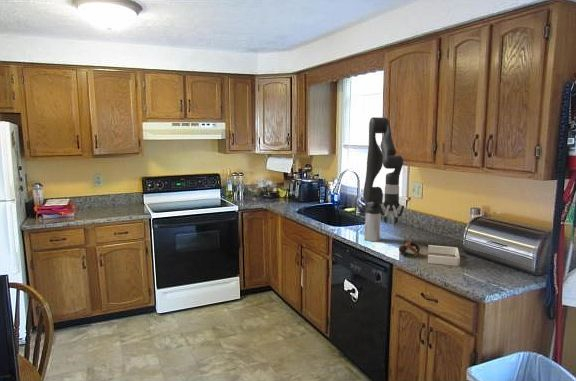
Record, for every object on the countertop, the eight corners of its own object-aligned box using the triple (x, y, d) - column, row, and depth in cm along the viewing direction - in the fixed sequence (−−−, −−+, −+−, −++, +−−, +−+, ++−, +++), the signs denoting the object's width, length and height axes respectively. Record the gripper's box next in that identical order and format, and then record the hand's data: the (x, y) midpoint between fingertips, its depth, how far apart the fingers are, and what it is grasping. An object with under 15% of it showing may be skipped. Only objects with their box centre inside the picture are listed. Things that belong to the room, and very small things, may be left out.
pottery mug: (407, 251, 226) (415, 240, 223) (416, 263, 219) (425, 252, 216) (392, 249, 220) (399, 238, 217) (401, 261, 213) (409, 250, 210)
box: (427, 262, 206) (428, 255, 205) (428, 252, 224) (428, 245, 224) (459, 266, 201) (459, 258, 200) (457, 254, 219) (457, 247, 219)
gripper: (406, 192, 218) (404, 222, 220) (379, 190, 222) (378, 220, 225) (405, 194, 211) (403, 225, 213) (377, 192, 215) (376, 223, 218)
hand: (390, 223), depth 219 cm, fingers open, 4 cm apart
